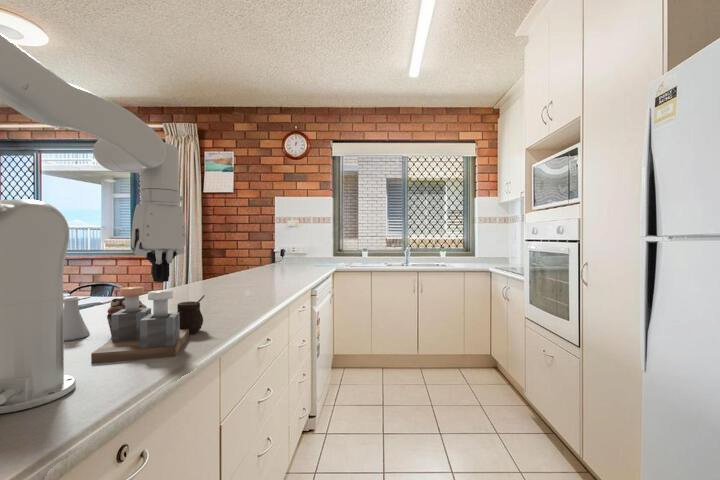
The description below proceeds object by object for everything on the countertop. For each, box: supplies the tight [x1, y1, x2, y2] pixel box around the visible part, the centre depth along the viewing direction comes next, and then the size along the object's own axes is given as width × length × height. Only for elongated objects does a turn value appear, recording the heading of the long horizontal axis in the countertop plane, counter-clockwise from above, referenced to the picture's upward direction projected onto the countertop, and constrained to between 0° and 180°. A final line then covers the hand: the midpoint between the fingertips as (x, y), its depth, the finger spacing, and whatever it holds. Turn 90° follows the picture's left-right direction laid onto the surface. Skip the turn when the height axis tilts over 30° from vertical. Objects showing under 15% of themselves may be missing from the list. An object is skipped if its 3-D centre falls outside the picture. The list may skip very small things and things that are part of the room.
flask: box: [63, 297, 91, 342], centre depth 91 cm, size 7×7×10 cm
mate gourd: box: [176, 295, 206, 335], centre depth 96 cm, size 7×8×10 cm
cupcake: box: [106, 296, 148, 337], centre depth 95 cm, size 10×10×10 cm
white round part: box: [147, 289, 174, 318], centre depth 80 cm, size 5×5×6 cm
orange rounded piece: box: [119, 286, 145, 313], centre depth 85 cm, size 5×5×6 cm
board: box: [90, 307, 190, 364], centre depth 82 cm, size 16×16×8 cm
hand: (160, 281), depth 80 cm, fingers closed
